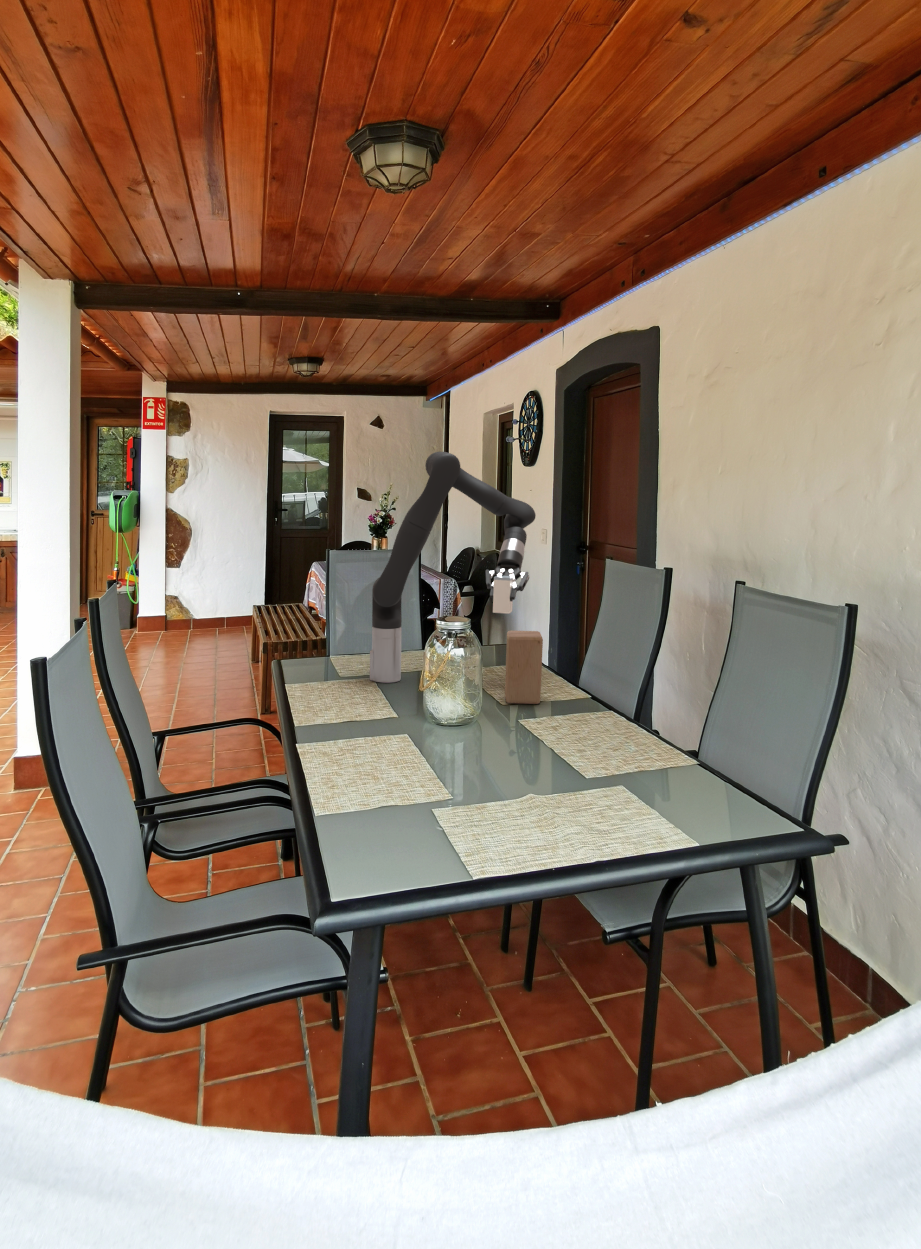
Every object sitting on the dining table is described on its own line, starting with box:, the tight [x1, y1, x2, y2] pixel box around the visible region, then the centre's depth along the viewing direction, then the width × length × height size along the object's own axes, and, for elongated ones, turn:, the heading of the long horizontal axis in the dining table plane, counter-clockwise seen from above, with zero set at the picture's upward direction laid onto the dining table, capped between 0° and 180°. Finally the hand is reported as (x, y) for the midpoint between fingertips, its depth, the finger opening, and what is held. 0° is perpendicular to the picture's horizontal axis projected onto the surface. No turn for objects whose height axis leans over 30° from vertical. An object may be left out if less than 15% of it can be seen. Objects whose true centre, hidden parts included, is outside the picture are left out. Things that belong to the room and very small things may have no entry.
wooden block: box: [504, 629, 544, 705], centre depth 237 cm, size 10×10×20 cm
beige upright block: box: [492, 575, 514, 614], centre depth 247 cm, size 5×5×11 cm
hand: (501, 599), depth 245 cm, fingers closed on beige upright block, 5 cm apart
